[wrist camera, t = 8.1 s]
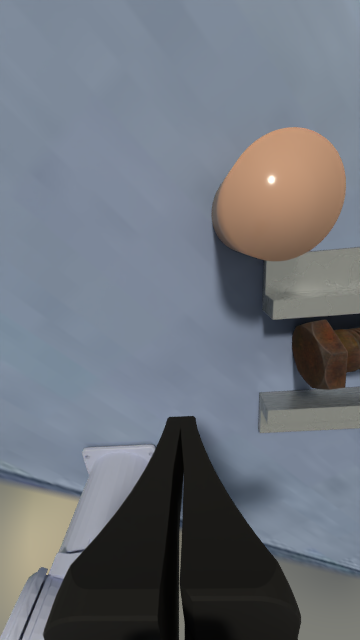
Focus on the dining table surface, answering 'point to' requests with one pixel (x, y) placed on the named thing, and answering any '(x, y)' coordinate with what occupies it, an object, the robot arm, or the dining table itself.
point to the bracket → (311, 301)
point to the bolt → (325, 354)
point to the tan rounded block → (280, 195)
